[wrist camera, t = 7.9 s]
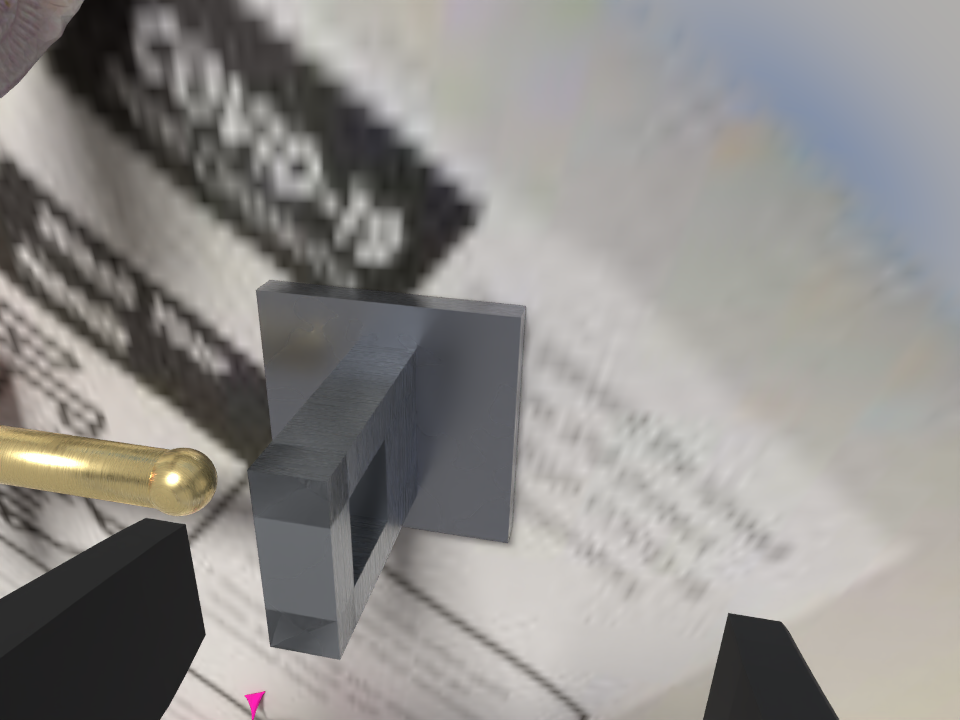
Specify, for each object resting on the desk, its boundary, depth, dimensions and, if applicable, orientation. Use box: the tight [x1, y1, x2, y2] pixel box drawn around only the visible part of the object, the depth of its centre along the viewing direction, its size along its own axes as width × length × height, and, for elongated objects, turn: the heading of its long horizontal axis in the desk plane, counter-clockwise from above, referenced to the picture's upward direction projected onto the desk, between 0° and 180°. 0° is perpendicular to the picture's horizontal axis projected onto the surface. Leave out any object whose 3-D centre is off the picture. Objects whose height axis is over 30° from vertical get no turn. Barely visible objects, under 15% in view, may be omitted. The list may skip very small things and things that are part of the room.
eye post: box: [247, 280, 526, 660], centre depth 18 cm, size 7×7×7 cm
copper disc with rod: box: [0, 425, 217, 516], centre depth 18 cm, size 11×7×7 cm, turn 88°
